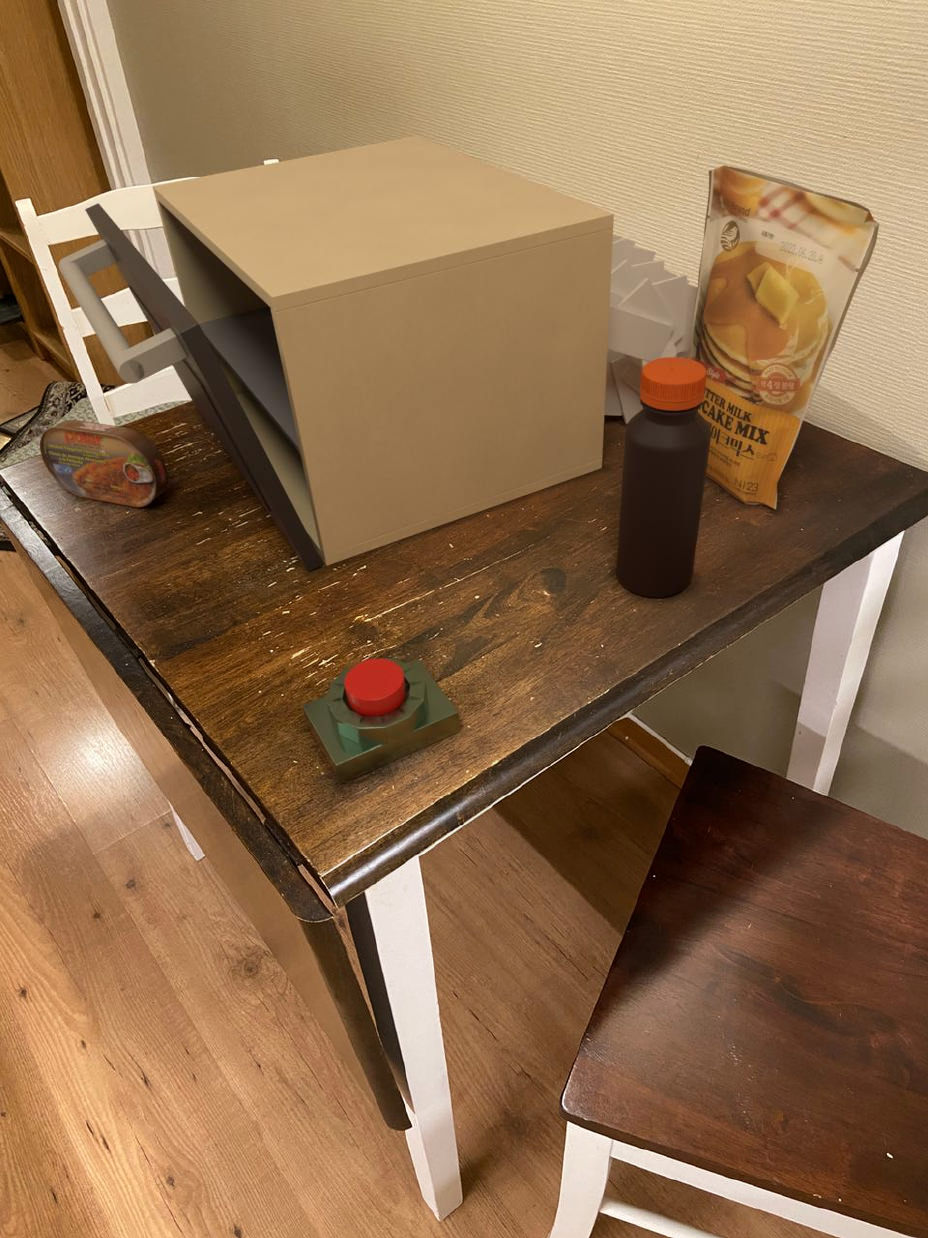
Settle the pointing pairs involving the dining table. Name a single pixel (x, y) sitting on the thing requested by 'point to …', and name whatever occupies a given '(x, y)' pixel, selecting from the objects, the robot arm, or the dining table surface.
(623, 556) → the bottle
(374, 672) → the button
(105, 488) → the tin
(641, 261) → the spiral staircase
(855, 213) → the pancake mix bag
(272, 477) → the oven door
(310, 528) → the oven
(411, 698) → the button base
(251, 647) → the dining table surface
